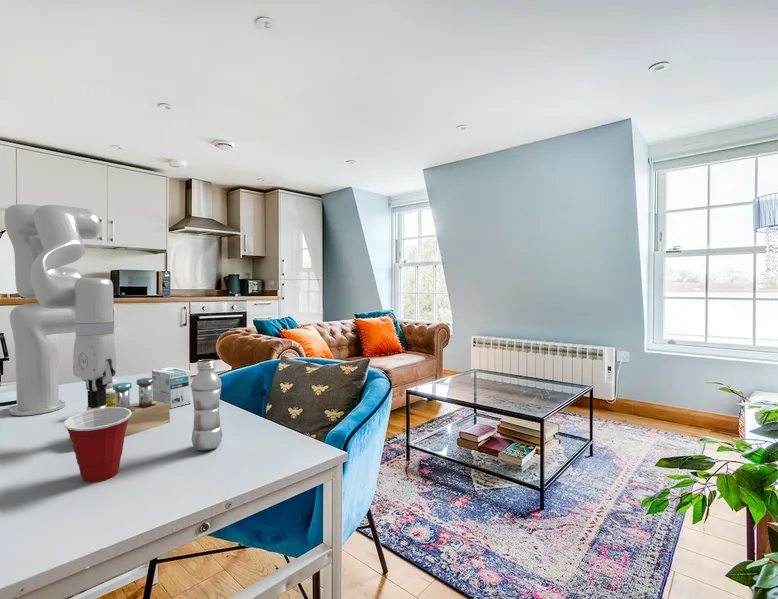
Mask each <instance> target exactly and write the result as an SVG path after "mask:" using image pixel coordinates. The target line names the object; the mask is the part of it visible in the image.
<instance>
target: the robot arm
mask: <svg viewBox="0 0 778 599" xmlns="http://www.w3.org/2000/svg"><path fill="white" fill-rule="evenodd" d="M3 221H4V227H5V231H6V234H7V236H8V238H9V240H10V242H11V245H12V247H13V252H14V253H13V254H14V277H15V279H14V280H15V290H16V291H17V292H16V293H18V295H19V296H20V297H22V298H24V299H36V300H37V302H34V303H33V302H32V303H24V304H20V305H19V304H18V305H17V306H15V307H13V309H12V310H10V313H9V323H10V327H11V331H12V335H13V336H12V337H13V342H14V360H15V389H16V406H14V407H11V408H10V409H9V414H10V415H12V416H19V417H20V416H21V417H22V416H33V415H40V414H46V413H49V412H50V413H51V412H55V411H58V410H60V409H63V408H64V407H65V406H66V401H64V400H62V399H61V400H60V397H59V396H60V395H59V361H58V357H59V356H58V348H57V346H56V345H55V344H54V343H53V342H52V341H51V340H50V339H48V338H47V336H51V335H60V334H61V335H63V334H72V333H75V339H74V344H73V355H72V356H73V357H72V358H73V360H72V373H73V376H74V377H76V378H78V379H79V378H80V379H81V380H82V381H84V382H85V389H86V391H87V407H91V408H95V407H99V406H104V405H106V389H107V384H109V383H112V380H113V377H114V376H116V374H117V365H118V364H117V363H118V362H117V351H116V344H115V338H114V336H115V317H114V315H115V314H114V310H115V309H114V304H115V303H114V284H113V281H112V280H111V279H110V278H105V277H83V275H82V274H81V272H80V271H79V270H78V269H77V268H74V267H69V266H68V265H70V264H73V263H76V262H77V261H79V260H80V259H81V258H83V256H84V255H85V252H86V247H85V244H84V241H83V240H93V239H95V238H97V237H98V236H99V234H100V230H101V224H100V223H101V222H100V220H99V218H98V216H97V214H96V213H95V212H94V211H92V210H91V209H88V208H83V207H82V208H81V207H75V206H65V205H58V204H44V205H37V204H29V203H28V204H26V203H24V204H23V203H20V204H17V203H16V204H12V205H9V206H8V207H7V208H6V209H5V212H4V218H3ZM66 265H67V266H68V267H67V266H66ZM65 266H66V267H65Z"/></svg>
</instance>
